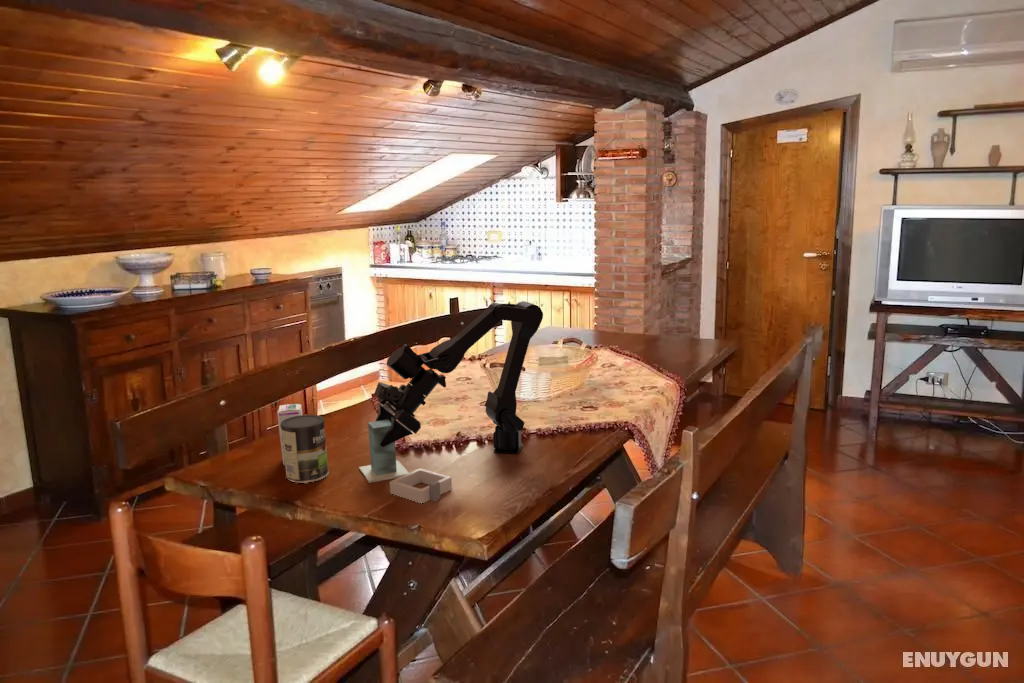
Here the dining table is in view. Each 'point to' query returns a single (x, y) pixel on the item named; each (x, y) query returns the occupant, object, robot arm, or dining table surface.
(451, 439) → the dining table surface
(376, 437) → the post
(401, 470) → the mat
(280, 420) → the syrup box
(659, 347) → the dining table surface
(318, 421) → the coffee can
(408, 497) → the collar
